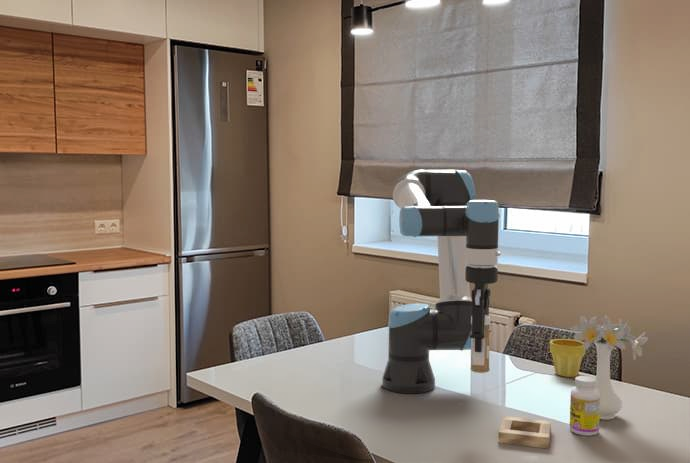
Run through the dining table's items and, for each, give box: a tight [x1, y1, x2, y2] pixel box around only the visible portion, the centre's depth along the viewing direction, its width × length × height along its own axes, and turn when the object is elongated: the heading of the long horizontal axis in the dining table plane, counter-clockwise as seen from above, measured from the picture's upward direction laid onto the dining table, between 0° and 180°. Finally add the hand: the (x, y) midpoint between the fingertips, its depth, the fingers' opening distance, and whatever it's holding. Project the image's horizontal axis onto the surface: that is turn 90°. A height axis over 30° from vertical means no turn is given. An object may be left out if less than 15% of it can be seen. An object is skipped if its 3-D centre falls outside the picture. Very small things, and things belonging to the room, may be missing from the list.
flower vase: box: [569, 315, 649, 421], centre depth 178 cm, size 13×18×25 cm
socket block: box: [498, 415, 552, 449], centre depth 164 cm, size 11×11×2 cm
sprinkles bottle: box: [470, 315, 491, 374], centre depth 169 cm, size 5×5×14 cm
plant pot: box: [549, 338, 587, 378], centre depth 215 cm, size 10×10×10 cm
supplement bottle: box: [569, 375, 600, 437], centre depth 167 cm, size 7×7×13 cm
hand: (479, 361), depth 170 cm, fingers closed on sprinkles bottle, 4 cm apart
